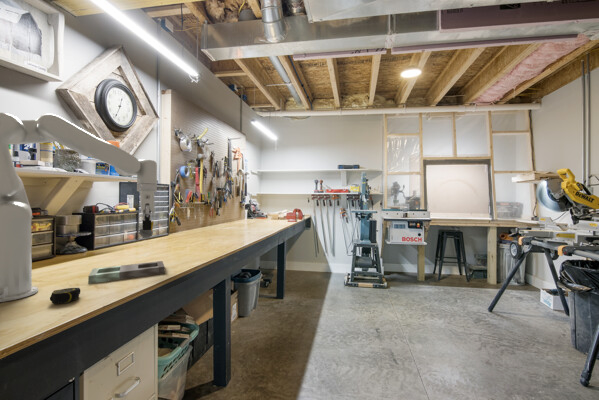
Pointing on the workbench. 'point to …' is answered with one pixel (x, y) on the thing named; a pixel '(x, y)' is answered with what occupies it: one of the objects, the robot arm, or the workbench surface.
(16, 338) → the workbench surface
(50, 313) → the workbench surface
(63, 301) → the tape measure
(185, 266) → the workbench surface
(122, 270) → the block
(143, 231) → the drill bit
